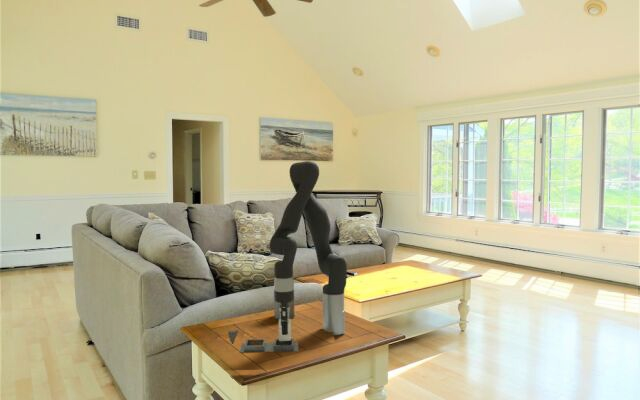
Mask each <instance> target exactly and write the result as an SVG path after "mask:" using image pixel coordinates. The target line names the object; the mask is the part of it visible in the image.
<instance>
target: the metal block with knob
mask: <svg viewBox="0 0 640 400" xmlns="http://www.w3.org/2000/svg"><path fill="white" fill-rule="evenodd" d="M283 322H286V320H283ZM278 339H279V341H291V339H292V320H291V319H288V334H287V335H282V325H281V319H278Z"/></svg>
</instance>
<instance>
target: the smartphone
mask: <svg viewBox="0 0 640 400" xmlns="http://www.w3.org/2000/svg"><path fill="white" fill-rule="evenodd" d="M227 333H228V336H229V339H230V342H231V344H234V343H235V341H236V338H237V336H238V334H239V330H230V331H228V332H227Z"/></svg>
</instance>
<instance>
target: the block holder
mask: <svg viewBox="0 0 640 400" xmlns="http://www.w3.org/2000/svg"><path fill="white" fill-rule="evenodd" d="M267 352H268V353H271V352H273V353H274V352H275V353H277V352H280V353H281V352H299V342H298V341H296V342H295V338H291V341H279V338H274V340H273V342H267V339H266V338H254V339H253V338H252V339H251V338H250V339H249V338H248V339H245V342H244V343H241V345H240V349H239V353H267Z"/></svg>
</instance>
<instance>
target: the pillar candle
mask: <svg viewBox="0 0 640 400" xmlns="http://www.w3.org/2000/svg"><path fill="white" fill-rule="evenodd" d="M288 304H290V310H289V318H288V319H293V318H295V299H294V300H293V301H292V302H288ZM279 305H281V303H278V302H276V301H275V300H274V299H273V308H274V309H273V311H274V312H273V313H274V316H273V317H274V318H275V319H276V320H279V319H280V311H279Z"/></svg>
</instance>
